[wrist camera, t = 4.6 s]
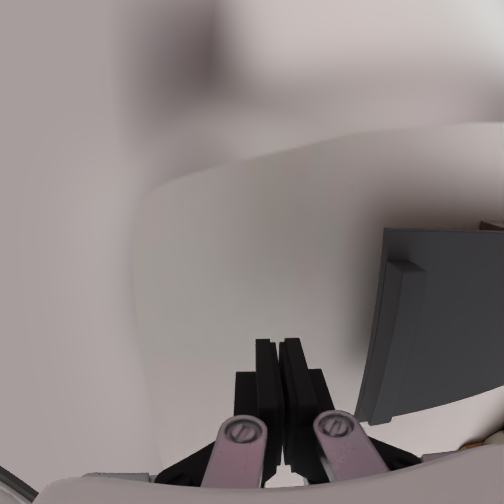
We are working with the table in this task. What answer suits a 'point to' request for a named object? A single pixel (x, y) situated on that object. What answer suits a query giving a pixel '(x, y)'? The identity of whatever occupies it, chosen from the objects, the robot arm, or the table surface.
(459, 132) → the table surface
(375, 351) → the lid
